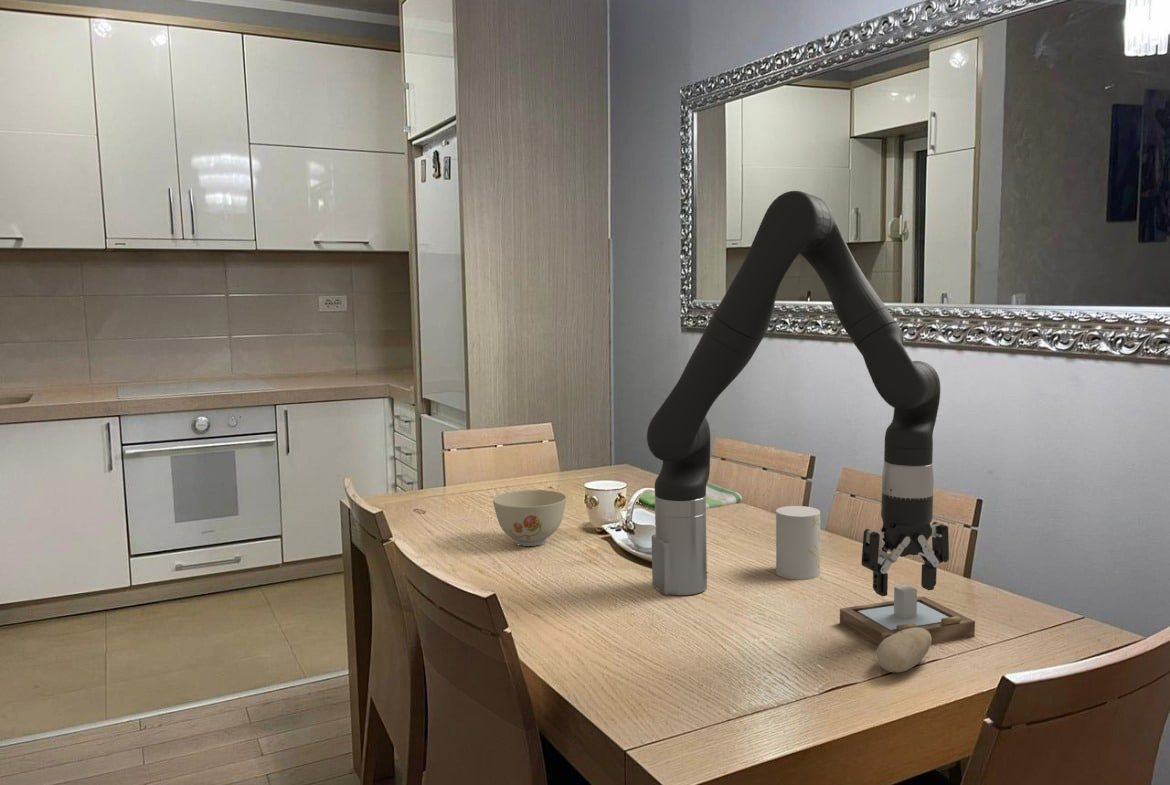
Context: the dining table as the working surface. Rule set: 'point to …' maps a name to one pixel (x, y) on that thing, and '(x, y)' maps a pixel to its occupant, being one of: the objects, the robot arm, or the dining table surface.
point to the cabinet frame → (948, 630)
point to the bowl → (530, 514)
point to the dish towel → (713, 497)
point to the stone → (903, 649)
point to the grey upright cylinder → (798, 542)
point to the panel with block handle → (903, 611)
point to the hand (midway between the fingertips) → (904, 591)
